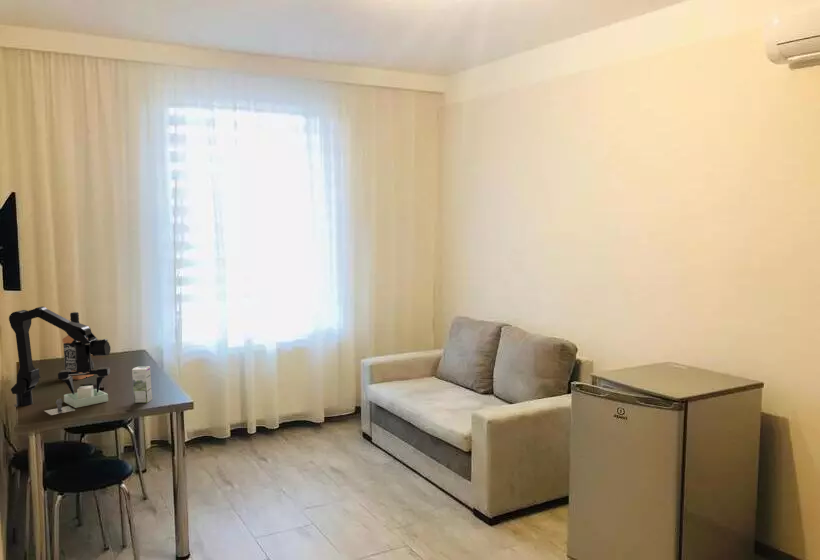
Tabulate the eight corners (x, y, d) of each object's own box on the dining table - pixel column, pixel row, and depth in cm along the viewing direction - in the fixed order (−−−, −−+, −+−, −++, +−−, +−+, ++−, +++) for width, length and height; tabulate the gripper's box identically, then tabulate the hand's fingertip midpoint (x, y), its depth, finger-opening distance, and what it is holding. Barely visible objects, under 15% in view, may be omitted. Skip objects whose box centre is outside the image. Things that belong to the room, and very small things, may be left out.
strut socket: (78, 403, 274) (77, 389, 273) (81, 400, 278) (80, 386, 278) (91, 402, 275) (90, 388, 274) (94, 399, 280) (93, 385, 279)
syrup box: (152, 399, 281) (150, 365, 280) (147, 403, 276) (145, 368, 274) (138, 399, 281) (136, 366, 280) (133, 403, 275) (131, 369, 274)
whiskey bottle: (62, 378, 324) (57, 313, 321) (78, 374, 334) (73, 310, 331) (79, 379, 321) (75, 314, 318) (95, 375, 331) (90, 311, 328)
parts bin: (64, 404, 277) (63, 394, 277) (97, 398, 286) (96, 388, 286) (75, 410, 268) (74, 400, 267) (108, 403, 277) (107, 393, 276)
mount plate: (44, 413, 264) (43, 399, 264) (68, 408, 271) (67, 394, 270) (51, 417, 258) (50, 403, 257) (76, 412, 264) (75, 398, 264)
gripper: (111, 351, 285) (113, 386, 287) (63, 354, 281) (65, 390, 282) (106, 356, 274) (108, 393, 276) (56, 359, 270) (59, 397, 271)
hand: (85, 393), depth 276 cm, fingers open, 9 cm apart
